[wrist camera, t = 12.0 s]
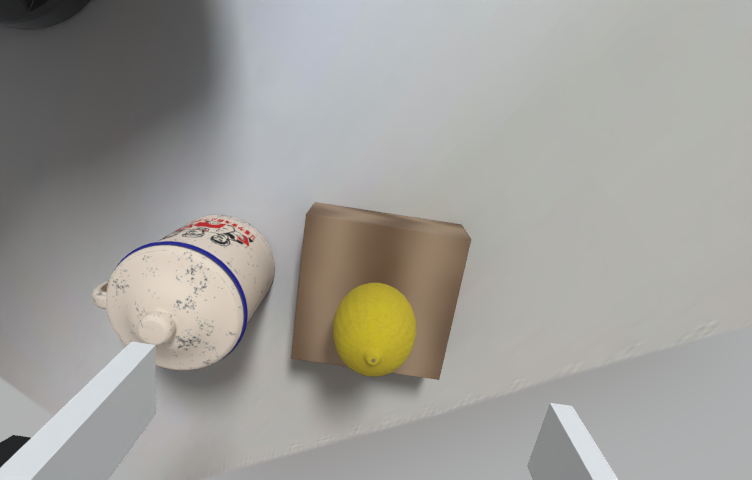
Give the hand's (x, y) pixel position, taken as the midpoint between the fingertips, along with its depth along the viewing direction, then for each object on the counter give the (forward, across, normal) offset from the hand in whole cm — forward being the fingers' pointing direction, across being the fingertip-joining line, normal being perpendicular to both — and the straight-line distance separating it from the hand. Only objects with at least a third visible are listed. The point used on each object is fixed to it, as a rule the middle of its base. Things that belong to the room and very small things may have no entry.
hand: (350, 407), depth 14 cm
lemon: (+17, +1, -4) cm, 18 cm away
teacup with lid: (+22, -13, -6) cm, 26 cm away
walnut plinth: (+21, +2, -5) cm, 22 cm away
